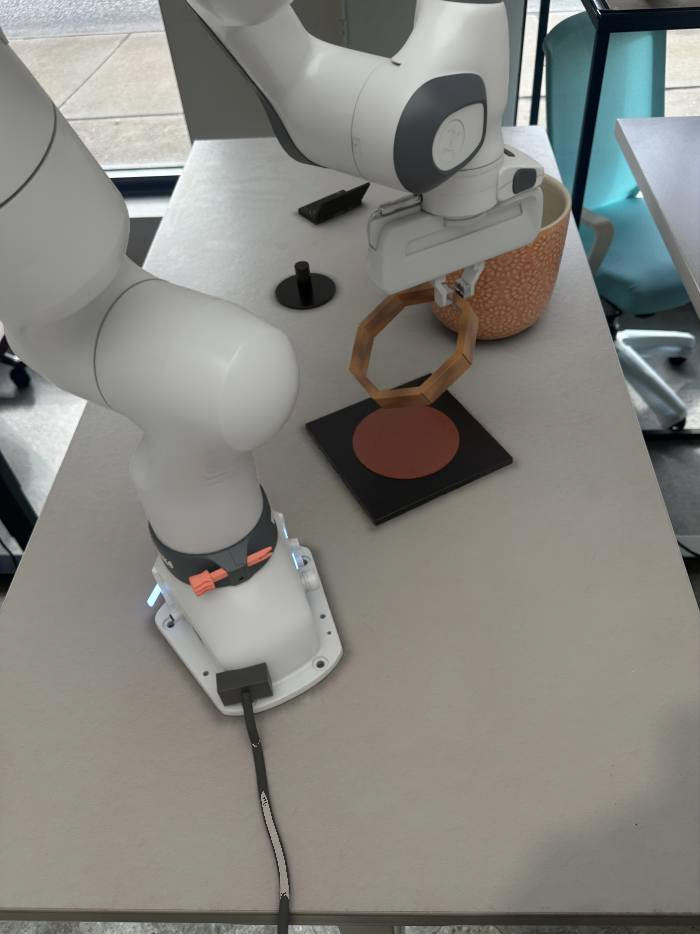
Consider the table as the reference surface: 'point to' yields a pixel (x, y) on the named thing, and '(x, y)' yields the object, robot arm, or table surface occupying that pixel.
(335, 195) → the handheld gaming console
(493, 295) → the planter
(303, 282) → the peg stand
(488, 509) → the table surface
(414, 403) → the hoop
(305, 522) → the table surface
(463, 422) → the hob plate
